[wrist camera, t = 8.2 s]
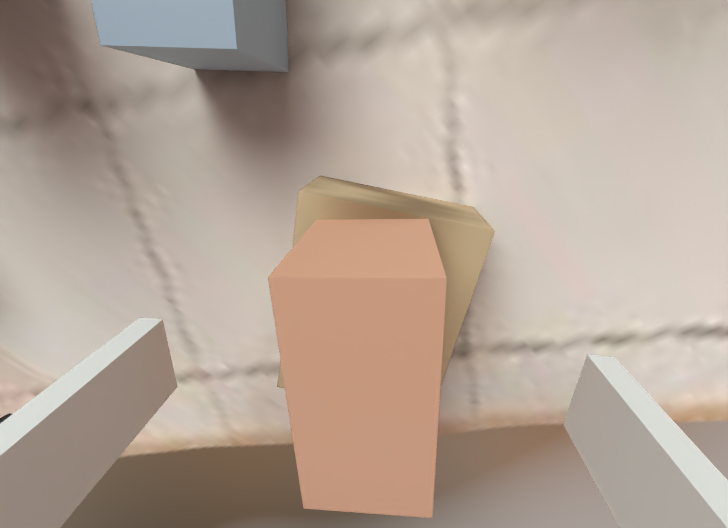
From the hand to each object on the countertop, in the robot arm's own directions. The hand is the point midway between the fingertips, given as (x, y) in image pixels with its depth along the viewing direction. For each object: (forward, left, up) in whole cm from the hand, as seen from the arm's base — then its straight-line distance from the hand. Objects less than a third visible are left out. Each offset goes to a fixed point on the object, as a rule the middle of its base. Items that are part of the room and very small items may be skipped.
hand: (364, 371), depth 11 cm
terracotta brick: (0, 0, -3) cm, 3 cm away
